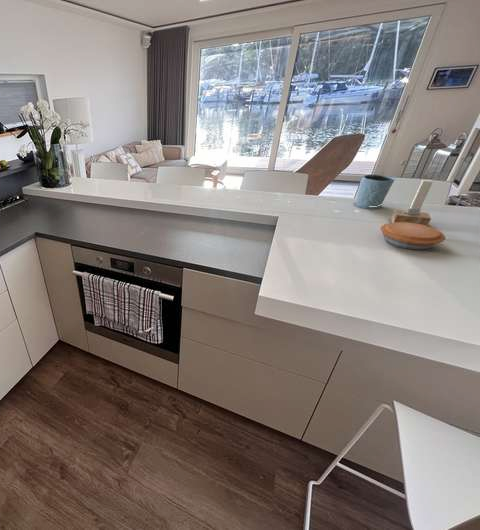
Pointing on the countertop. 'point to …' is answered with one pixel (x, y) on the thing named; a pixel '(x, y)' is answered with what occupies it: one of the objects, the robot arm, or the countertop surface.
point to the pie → (411, 235)
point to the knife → (420, 197)
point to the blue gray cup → (373, 190)
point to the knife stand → (411, 217)
